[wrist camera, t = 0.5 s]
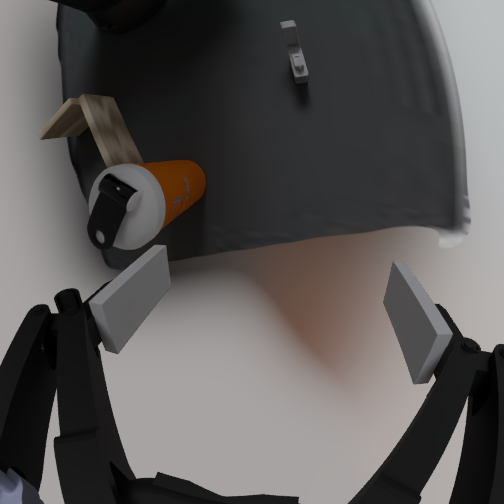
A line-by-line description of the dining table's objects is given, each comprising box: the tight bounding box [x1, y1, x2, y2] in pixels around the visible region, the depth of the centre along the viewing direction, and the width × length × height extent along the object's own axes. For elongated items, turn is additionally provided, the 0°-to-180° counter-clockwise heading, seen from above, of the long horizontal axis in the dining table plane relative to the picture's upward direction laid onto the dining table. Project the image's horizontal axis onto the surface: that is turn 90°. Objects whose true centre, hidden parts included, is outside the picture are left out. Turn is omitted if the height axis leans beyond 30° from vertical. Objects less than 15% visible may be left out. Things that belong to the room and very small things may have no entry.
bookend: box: [39, 94, 144, 168], centre depth 37 cm, size 14×10×10 cm
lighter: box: [280, 20, 308, 84], centre depth 29 cm, size 7×2×8 cm, turn 13°
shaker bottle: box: [87, 160, 206, 250], centre depth 32 cm, size 9×9×20 cm
